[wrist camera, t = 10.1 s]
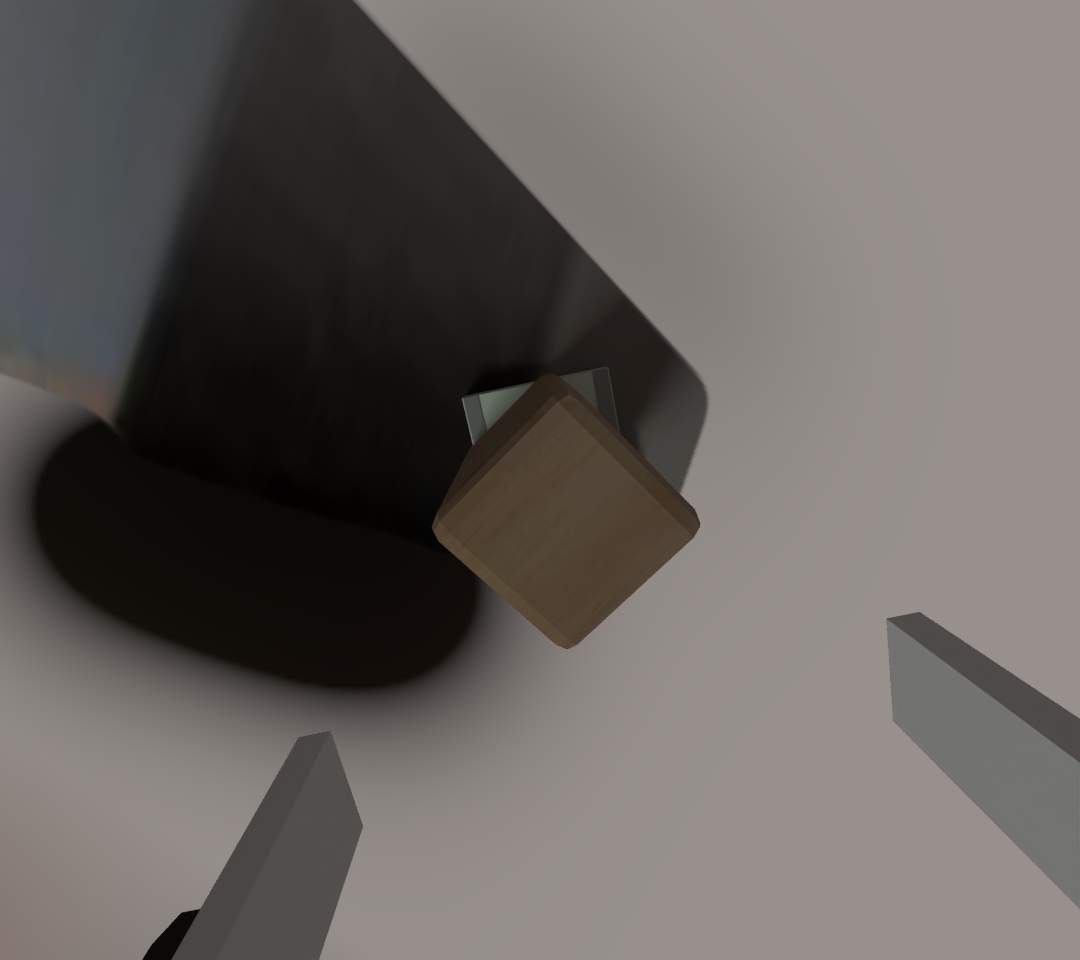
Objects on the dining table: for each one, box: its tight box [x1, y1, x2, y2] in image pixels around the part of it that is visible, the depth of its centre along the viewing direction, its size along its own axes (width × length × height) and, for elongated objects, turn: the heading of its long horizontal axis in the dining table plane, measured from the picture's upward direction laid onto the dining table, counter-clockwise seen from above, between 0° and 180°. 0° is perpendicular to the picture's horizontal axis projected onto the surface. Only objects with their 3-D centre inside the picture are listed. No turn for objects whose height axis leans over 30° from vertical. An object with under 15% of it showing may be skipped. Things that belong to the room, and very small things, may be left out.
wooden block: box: [432, 372, 700, 649], centre depth 36 cm, size 10×10×20 cm
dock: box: [462, 367, 620, 445], centre depth 48 cm, size 12×12×3 cm
